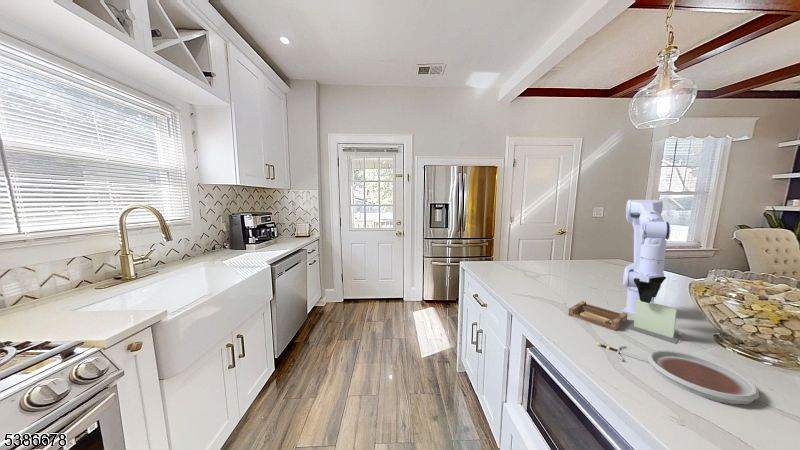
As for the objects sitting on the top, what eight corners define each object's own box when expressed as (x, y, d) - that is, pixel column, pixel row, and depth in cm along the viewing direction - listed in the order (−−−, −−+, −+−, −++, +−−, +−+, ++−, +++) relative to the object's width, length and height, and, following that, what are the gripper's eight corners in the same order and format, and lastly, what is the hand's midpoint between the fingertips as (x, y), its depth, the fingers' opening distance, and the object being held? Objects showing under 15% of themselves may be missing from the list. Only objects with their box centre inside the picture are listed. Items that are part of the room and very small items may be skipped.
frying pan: (600, 328, 80) (749, 368, 60) (600, 337, 80) (748, 380, 60) (589, 351, 68) (771, 410, 48) (589, 361, 68) (770, 424, 48)
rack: (582, 308, 99) (582, 301, 99) (626, 321, 88) (627, 313, 88) (568, 316, 93) (568, 308, 92) (615, 331, 81) (615, 323, 81)
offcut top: (584, 314, 93) (584, 311, 93) (609, 322, 87) (609, 319, 86) (579, 316, 91) (579, 313, 91) (604, 325, 85) (605, 321, 85)
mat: (634, 322, 87) (634, 321, 87) (681, 336, 78) (681, 334, 78) (626, 329, 83) (627, 327, 83) (675, 345, 74) (675, 343, 74)
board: (635, 324, 85) (637, 299, 84) (674, 336, 77) (676, 308, 76) (633, 326, 84) (635, 300, 83) (673, 338, 76) (675, 309, 76)
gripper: (641, 253, 88) (637, 290, 89) (628, 259, 80) (625, 300, 81) (670, 257, 82) (666, 297, 84) (660, 263, 74) (655, 308, 75)
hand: (648, 299), depth 82 cm, fingers open, 7 cm apart
